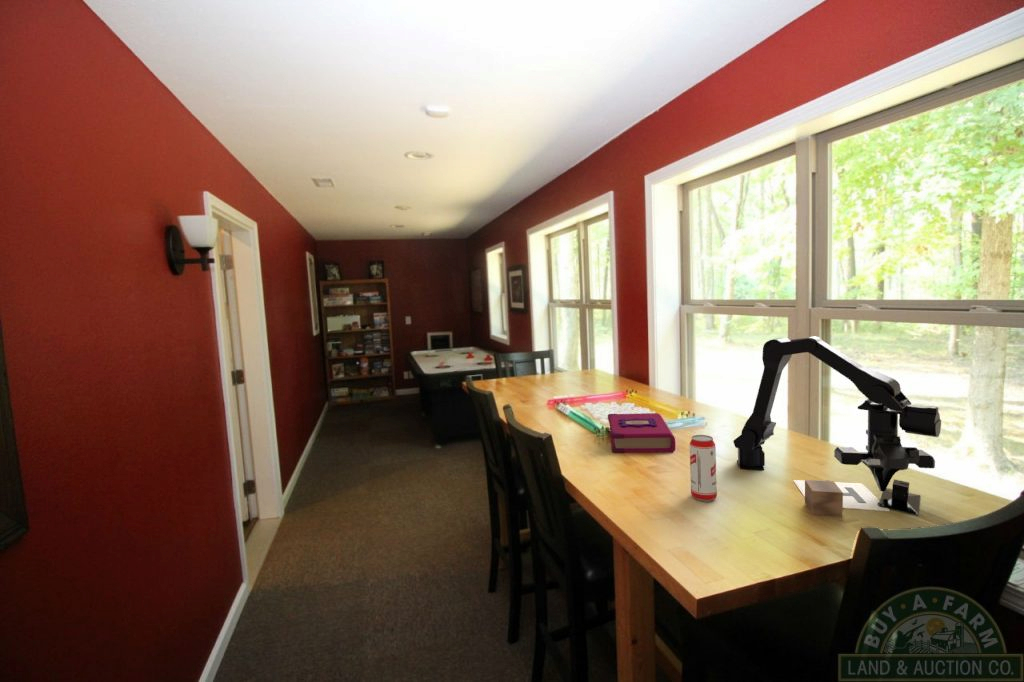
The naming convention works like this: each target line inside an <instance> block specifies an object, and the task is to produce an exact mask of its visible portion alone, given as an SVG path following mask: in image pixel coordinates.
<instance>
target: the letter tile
mask: <svg viewBox="0 0 1024 682" xmlns="http://www.w3.org/2000/svg"><path fill="white" fill-rule="evenodd" d="M805 480H806V479H804V480H803V479H802V480H801V479H800V480H799V479H793V480H792V481H793V483H794V484H795V486H796V487H797V488H798V490H799V491H800V493H801V494H802V495H803V496H802V497H804V498H805ZM834 482H835V484H836V485H837V486H838V487H839V489H840V490H841V491H842V492H843V509H845V510H847V509H849V510H865V511H878V512H891V509H888V508H883V507H879V506H878V502H880V499H878V497H877V496H875V495H874V494H873V493H872V492H871V490H869V489H868V488H867V487H866V486H865V485H864V484H863V482H862V483H858V482H839V481H834Z"/></svg>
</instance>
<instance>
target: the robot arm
mask: <svg viewBox="0 0 1024 682" xmlns="http://www.w3.org/2000/svg"><path fill="white" fill-rule="evenodd" d="M802 353H803V354H805V353H809V354H810V355H812V356H814V357H815V358H816V359H818V360H819V361H821V362H822V363H824V364H825V365H827V366H829V367H830V368H831V369H833V370H835V371H836V372H837V373H839V374H841V375H842V376H843V377H845V378H847V380H849V381H850V382H851V383H853V384H854V386H855V387H856V388H857V390H858V391H859V392H860V393H861V394H862V395H863V396H864V397H865V398H867V399H865V400H864V401H863V403H861V404H860V405H858V406H857V409H858V410H861V411H862V410H863V411H867V429H865V434H866V435H867V445H865V450H866V451H857V449H855V447H851V446H837V447H836V448H835V449H834V452H833V453H834V455H833V456H834V458H835V459H837V461H838V462H839V463H840V464H842V465H844V466H845V465H846V466H847V465H849V466H858V465H859V464H861V463H863V464H864V466H866V467H867V468H868V469H869V470H870V472H871V474H872V476H873V478H874V480H875V483H876V486H877V487H878V489H879V491H880V492H883V491H885V490H886V488H888V486H889V484H890V482H891V480H892V478H893V477H894V475H895V474H896V473H898V472H899V471H904V470H908V469H909V465H910V464H911V465H915V466H917V467H918V468H920V469H935V468H936V461H935V457H934V456H932V455H931V454H929V453H928V452H926V451H924V450H923V449H919V448H917V447H911V446H910V447H909V446H903V445H902V442H901V436H899V434H898V433H899V431H898V430H899V428H901V430H902V431H904V433H906V434H910V435H911V434H913V435H918V436H919V435H920V436H927V437H933V438H939V437H940V435H941V430H942V419H941V415H940V413H939V407H938V406H933V405H932V406H930V405H929V406H925V405H924V406H923V405H915V404H912V402H911V401H910V400H909V398H908V397H907V396H906V395H905V394H904V393H903V392H902V388H901V385H900V383H899V381H897V380H896V379H895V378H893V377H891V376H888V375H886V374H884V373H881V372H879V371H877V370H876V371H875V370H873V369H869V368H867V367H865V366H864V365H862V364H860V363H859V362H857V361H855V360H854V359H852V358H850V357H849V356H847V355H846V354H844V353H842V352H841V351H839V350H838V349H836V348H834V347H833V346H831V345H830V344H829V343H827V342H825V341H824V340H823V339H822V338H821V337H819V336H814V335H813V336H809V337H803V338H795V339H794V338H793V339H790V338H789V337H788V338H787V337H784V336H783V337H778V338H774V339H769V340H767V341H766V342H765V343H764V344H763V347H762V358H761V359H762V363H763V364H762V365H763V371H762V375H761V380H760V383H759V387H758V390H757V395H756V398H755V403H754V407H753V410H752V413H751V414H750V416H749V418H748V419H747V420H746V422H745V423H744V425H743V427H742V429H741V433H740V435H739V436H738V437H736V438H734V440H733V441H732V442H733V444H734V447H735V448H736V449H737V460H736V462H737V465H738V467H739V469H741V470H759V471H760V470H761V471H763V470H765V467H764V466H766V463H765V461H766V460H765V458H766V455H765V452H764V450H763V446H762V445H764V444H765V442H766V441H767V440H769V439H770V438H771V437H772V436H774V430H775V427H776V425H777V422H776V421H772V417H771V413H772V410H773V406H774V402H775V399H776V395H777V392H778V387H779V384H780V380H781V376H782V373H783V370H784V369H785V367H786V366H787V365H788V363H789V362H790V360H791V358H792V356H793V355H797V354H802ZM898 426H899V427H898Z"/></svg>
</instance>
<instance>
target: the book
mask: <svg viewBox="0 0 1024 682" xmlns="http://www.w3.org/2000/svg"><path fill="white" fill-rule="evenodd" d="M607 420H608V424H609V425H608V426H609V428H610V430H611V431H608V430H607V431H608V434H609V439H610V445H611V447H610V448H611V452H612V453H613V454H653V453H655V454H657V453H658V454H659V453H660V454H663V453H664V454H665V453H666V454H668V453H669V454H670V453H674V452H675V451H676V439H675V438H676V437H675V436H674V433H672V431H671V429H670V427H669V426H668V425H667V423H666V421H665V420H664V418H663V416H662V415H661V414H660V413H658V412H654V413H653V412H650V413H645V412H644V413H608V414H607Z"/></svg>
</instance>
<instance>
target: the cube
mask: <svg viewBox="0 0 1024 682" xmlns="http://www.w3.org/2000/svg"><path fill="white" fill-rule="evenodd" d="M804 480H805V497H804V504H805V506H806V508H807V509H808V511H809V512H810V514H811V515H812V516H817V517H831V518H832V517H834V518H843V514H844V513H843V510H844V508H843V492H842V491H841V490H840V489H839V487H838V486H837V485H836V484H835V482H836V481H832V480H831V481H830V480H814V479H804Z"/></svg>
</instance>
